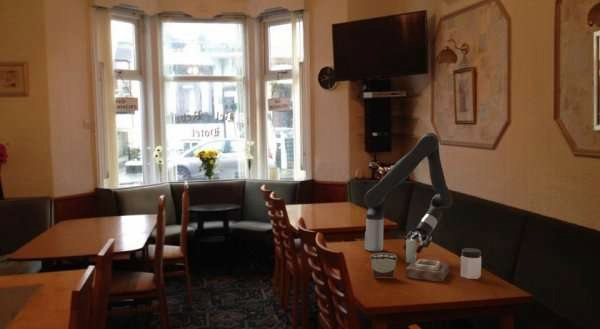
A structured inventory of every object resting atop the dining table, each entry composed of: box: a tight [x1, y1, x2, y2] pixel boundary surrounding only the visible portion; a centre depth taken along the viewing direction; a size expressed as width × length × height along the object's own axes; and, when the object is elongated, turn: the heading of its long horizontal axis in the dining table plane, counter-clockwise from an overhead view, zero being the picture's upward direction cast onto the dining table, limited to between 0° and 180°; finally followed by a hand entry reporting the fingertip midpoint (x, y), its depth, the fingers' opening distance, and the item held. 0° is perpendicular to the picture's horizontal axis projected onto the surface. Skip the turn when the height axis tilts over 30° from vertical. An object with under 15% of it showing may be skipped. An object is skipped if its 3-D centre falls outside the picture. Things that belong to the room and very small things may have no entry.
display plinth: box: [405, 258, 450, 283], centre depth 232 cm, size 16×16×6 cm
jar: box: [460, 247, 482, 280], centre depth 230 cm, size 9×8×12 cm
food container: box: [369, 252, 398, 279], centre depth 231 cm, size 12×6×10 cm, turn 84°
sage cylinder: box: [405, 238, 417, 264], centre depth 253 cm, size 5×5×11 cm
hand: (410, 250), depth 253 cm, fingers open, 8 cm apart
